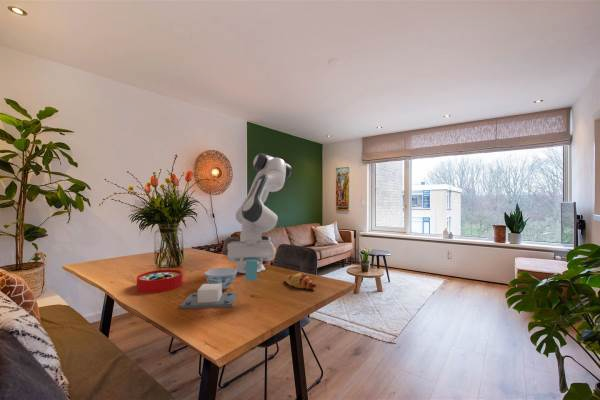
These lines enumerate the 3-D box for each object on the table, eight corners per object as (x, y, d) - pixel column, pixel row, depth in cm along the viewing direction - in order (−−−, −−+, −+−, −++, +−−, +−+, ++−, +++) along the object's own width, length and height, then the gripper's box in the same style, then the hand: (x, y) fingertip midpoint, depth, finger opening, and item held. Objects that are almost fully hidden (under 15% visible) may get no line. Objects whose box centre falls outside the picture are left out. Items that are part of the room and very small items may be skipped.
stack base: (190, 296, 118) (190, 282, 118) (236, 295, 120) (236, 281, 120) (179, 308, 105) (179, 292, 105) (232, 306, 107) (232, 291, 107)
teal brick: (245, 277, 114) (246, 258, 114) (256, 277, 115) (256, 258, 115) (245, 280, 110) (246, 261, 110) (256, 280, 111) (257, 260, 111)
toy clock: (190, 270, 140) (161, 282, 120) (190, 282, 140) (161, 295, 120) (158, 268, 145) (126, 278, 125) (158, 279, 145) (126, 291, 125)
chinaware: (242, 287, 131) (242, 271, 131) (213, 295, 120) (214, 277, 120) (227, 280, 141) (227, 266, 141) (199, 287, 131) (199, 271, 131)
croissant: (281, 288, 139) (275, 276, 137) (293, 276, 146) (288, 264, 143) (312, 298, 125) (306, 285, 122) (324, 284, 131) (319, 271, 129)
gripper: (227, 237, 117) (225, 265, 107) (274, 237, 121) (276, 264, 112) (227, 245, 121) (225, 273, 112) (272, 245, 126) (274, 271, 116)
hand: (251, 268), depth 112 cm, fingers closed on teal brick, 4 cm apart
